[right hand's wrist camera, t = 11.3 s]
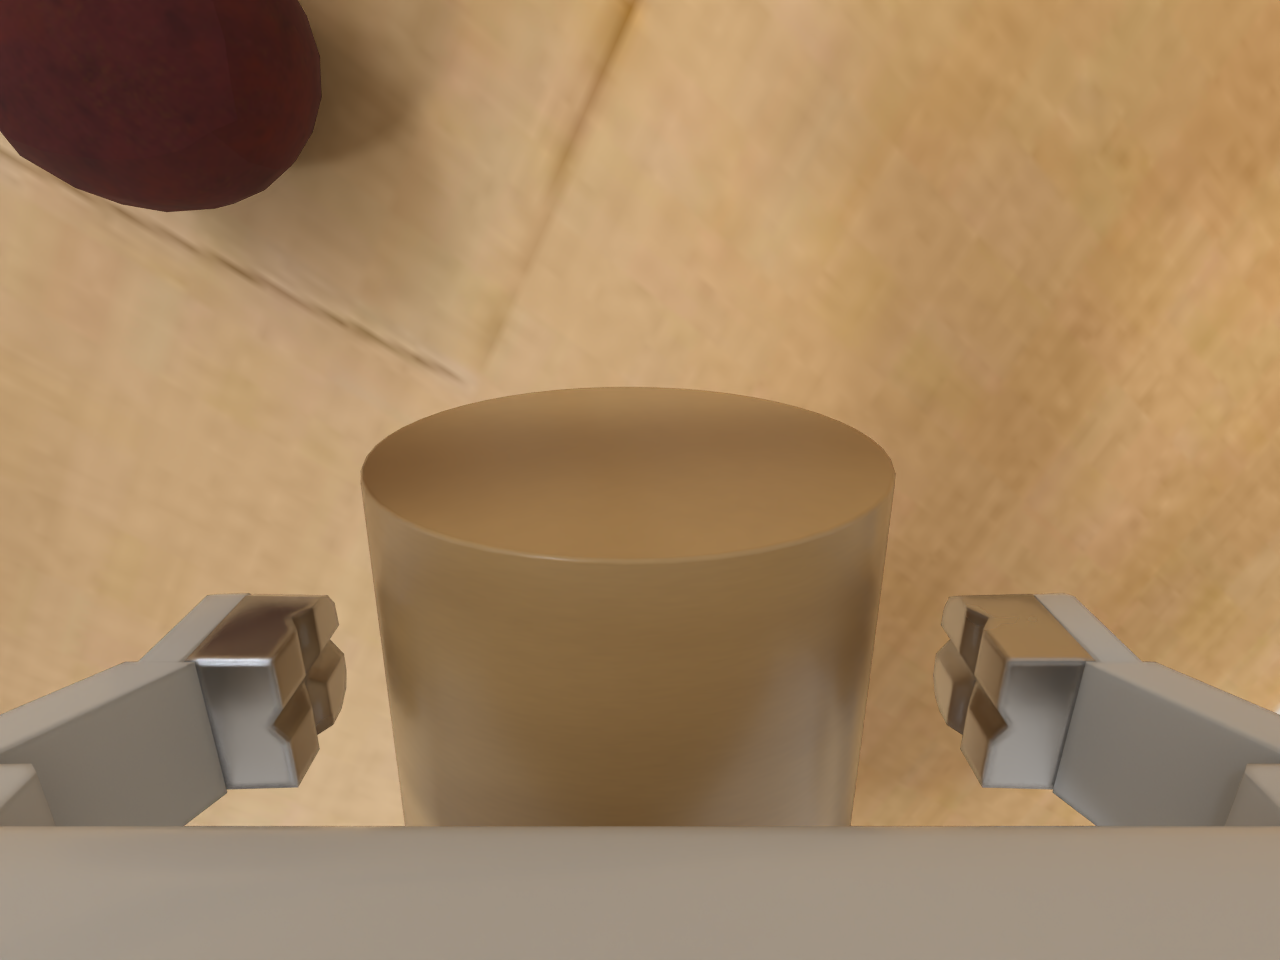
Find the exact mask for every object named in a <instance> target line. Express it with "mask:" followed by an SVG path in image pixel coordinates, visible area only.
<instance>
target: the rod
mask: <svg viewBox="0 0 1280 960" xmlns="http://www.w3.org/2000/svg"><path fill="white" fill-rule="evenodd" d="M894 486H895V471H894V468H893V465H892V462H891V459H890V458H889V456H888V455H887V454H886V452H885V451H884V450H883V448H881V447H880V446H879V445H878V444H877V443H876V442H874V441H873V440H872V439H871V438H869V437H868V436H866V435H864V434H863V433H861V432H860V431H858V430H856V429H854V428H852V427H850V426H848V425H846V424H844V423H842V422H840V421H837V420H834V419H832V418H829V417H827V416H824V415H821V414H819V413H815V412H812V411H809V410H806V409H802V408H799V407H795V406H791V405H787V404H783V403H779V402H774V401H769V400H764V399H759V398H754V397H748V396H742V395H735V394H728V393H720V392H712V391H702V390H690V389H676V388H657V387H600V388H578V389H565V390H553V391H544V392H534V393H527V394H520V395H513V396H507V397H501V398H496V399H490V400H485V401H481V402H476V403H472V404H468V405H464V406H460V407H457V408H453V409H450V410H446V411H443V412H440V413H437V414H434V415H431V416H429V417H426V418H423V419H420V420H418V421H416V422H414V423H412V424H409V425H407V426H405V427H403V428H401V429H399V430H398V431H396V432H394V433H392V434H391V435H389V436H387V437H386V438H385V439H384V440H382V441H381V442H380V443H379V444H377V445H376V446H375V447H374V448H373V450H372V451H371V452H370V453H369V454H368V456H367V457H366V459H365V462H364V464H363V466H362V469H361V489H362V497H363V504H364V512H365V520H366V527H367V535H368V543H369V551H370V558H371V566H372V574H373V582H374V589H375V597H376V605H377V612H378V620H379V628H380V636H381V643H382V651H383V659H384V666H385V674H386V682H387V690H388V697H389V705H390V713H391V720H392V728H393V736H394V744H395V751H396V759H397V767H398V774H399V782H400V790H401V798H402V805H403V813H404V821H405V826H851V818H852V810H853V803H854V795H855V787H856V779H857V772H858V764H859V756H860V749H861V741H862V733H863V725H864V718H865V710H866V702H867V695H868V687H869V679H870V671H871V664H872V656H873V648H874V640H875V633H876V625H877V617H878V610H879V602H880V594H881V586H882V579H883V571H884V563H885V556H886V548H887V540H888V532H889V525H890V517H891V509H892V501H893V494H894Z"/></svg>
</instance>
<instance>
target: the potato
mask: <svg viewBox="0 0 1280 960" xmlns="http://www.w3.org/2000/svg"><path fill="white" fill-rule="evenodd" d="M320 101H321V75H320V56H319V53H318V50H317V47H316V43H315V40H314V37H313V34H312V31H311V28H310V25H309V22H308V18H307V16H306V14H305V12H304V11H303V9H302V7H301V5H300V4H299V2H298V0H0V131H1V133H2V134H3V135H4V136H5V138H6V139H7V140H8V141H9V142H10V144H11V145H12V146H13V147H14V149H15V150H16V151H17V152H18V154H19V155H20V156H22V157H24V158H25V159H27V160H29V161H30V162H32V163H34V164H36V165H37V166H39V167H41V168H42V169H44V170H46V171H48V172H49V173H51V174H53V175H54V176H56V177H58V178H59V179H61V180H63V181H65V182H66V183H68V184H70V185H71V186H73V187H75V188H77V189H80V190H83V191H86V192H89V193H92V194H94V195H97V196H100V197H103V198H106V199H109V200H111V201H114V202H117V203H120V204H123V205H129V206H135V207H141V208H146V209H152V210H158V211H164V212H174V211H188V210H201V209H215V208H219V207H223V206H226V205H230V204H234V203H236V202H238V201H241V200H243V199H245V198H248V197H250V196H252V195H254V194H257V193H259V192H261V191H263V190H265V189H266V188H267V187H268V186H270V185H271V184H272V183H273V182H274V181H275V180H276V179H277V178H278V177H279V176H281V175H282V174H283V173H284V172H285V171H286V170H287V169H288V168H289V167H290V166H291V165H292V164H293V163H294V162H295V161H296V159H297V158H298V156H299V154H300V153H301V151H302V149H303V147H304V146H305V144H306V142H307V141H308V139H309V137H310V136H311V134H312V132H313V128H314V124H315V121H316V117H317V113H318V109H319V105H320Z"/></svg>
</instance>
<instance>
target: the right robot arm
mask: <svg viewBox="0 0 1280 960" xmlns="http://www.w3.org/2000/svg"><path fill="white" fill-rule="evenodd" d="M338 626H339V622H338V618H337V613H336V608H335V603H334V602H333V601H332V600H331V599H330V597H329V596H328V595H283V594H249V593H237V594H214V595H207V596H206V597H205V598H204V599H203V600H202V601H201V602H200V603H199V604H198V605H197V606H196V607H194V608H193V609H192V610H191V611H190V612H189V613H188V614H187V615H186V616H185V617H184V618H183V619H182V620H181V621H180V622H179V623H178V624H177V625H176V626H175V627H174V628H173V629H172V630H171V631H169V632H168V633H167V634H166V635H165V636H164V637H163V638H162V639H161V640H160V641H159V642H158V643H157V644H156V645H155V646H154V647H153V648H152V649H151V650H150V651H149V652H148V653H147V654H145V655H144V656H143V657H142V658H141V659H140V660H139V661H138V662H124V663H121V664H119V665H117V666H114V667H112V668H109V669H107V670H105V671H102V672H100V673H98V674H95V675H93V676H91V677H88V678H86V679H83V680H81V681H79V682H76V683H74V684H72V685H69V686H67V687H65V688H62V689H60V690H57V691H55V692H53V693H50V694H48V695H46V696H43V697H41V698H39V699H36V700H34V701H31V702H29V703H27V704H24V705H22V706H20V707H17V708H15V709H13V710H10V711H8V712H5V713H3V714H1V715H0V960H1280V715H1279V714H1277V713H1274V712H1272V711H1270V710H1267V709H1265V708H1262V707H1260V706H1258V705H1255V704H1253V703H1251V702H1248V701H1246V700H1244V699H1241V698H1239V697H1237V696H1234V695H1232V694H1229V693H1227V692H1225V691H1222V690H1220V689H1218V688H1215V687H1213V686H1211V685H1208V684H1206V683H1204V682H1201V681H1199V680H1196V679H1194V678H1192V677H1189V676H1187V675H1185V674H1182V673H1180V672H1178V671H1175V670H1173V669H1171V668H1168V667H1166V666H1163V665H1161V664H1159V663H1156V662H1142V661H1141V660H1140V659H1139V658H1138V657H1137V656H1136V655H1135V654H1134V653H1133V652H1131V651H1130V650H1129V649H1128V648H1127V647H1126V646H1125V645H1124V644H1123V643H1122V642H1121V641H1120V640H1119V639H1118V638H1117V637H1116V636H1115V635H1114V634H1113V633H1112V632H1111V631H1110V630H1109V629H1108V628H1107V627H1105V626H1104V625H1103V624H1102V623H1101V622H1100V621H1099V620H1098V619H1097V618H1096V617H1095V616H1094V615H1093V614H1092V613H1091V612H1090V611H1089V610H1088V609H1087V608H1086V607H1085V606H1084V605H1083V604H1082V603H1081V602H1079V601H1078V600H1077V599H1076V598H1075V597H1074V596H1071V595H1068V594H1065V593H1052V594H1014V595H973V596H953V597H949V599H948V601H947V603H946V605H945V607H944V611H943V617H942V622H941V626H942V627H943V629H944V630H945V632H946V633H947V635H948V636H949V638H950V640H949V641H948V642H947V643H946V644H945V645H944V646H943V647H942V648H941V649H940V650H939V651H938V652H937V653H936V659H935V666H934V674H933V678H934V689H935V698H936V701H937V704H938V707H939V711H940V713H941V715H942V716H943V718H944V720H945V722H946V724H947V725H948V726H950V727H951V728H953V729H954V730H956V731H958V732H959V733H961V734H962V735H963V737H962V743H961V748H960V749H961V751H962V753H963V754H964V756H965V758H966V760H967V761H968V763H969V765H970V767H971V769H972V770H973V772H974V774H975V776H976V777H977V779H978V781H979V783H980V784H981V786H982V787H987V788H1023V789H1053V793H1054V794H1055V795H1057V796H1058V797H1059V798H1061V799H1062V800H1063V801H1065V802H1066V803H1067V804H1068V805H1070V806H1071V807H1072V808H1074V809H1075V810H1076V811H1078V812H1079V813H1080V814H1082V815H1083V816H1084V817H1085V818H1087V819H1088V820H1089V821H1091V822H1092V823H1093V824H1095V825H1096V826H184V825H186V824H187V823H188V822H190V821H191V820H192V819H193V818H195V817H196V816H197V815H199V814H200V813H201V812H203V811H204V810H205V809H207V808H208V807H209V806H210V805H212V804H213V803H214V802H216V801H217V800H218V799H220V798H221V797H222V796H224V795H225V794H226V793H227V789H255V788H291V787H298V786H299V784H300V783H301V781H302V779H303V777H304V776H305V774H306V772H307V770H308V769H309V767H310V765H311V763H312V762H313V760H314V758H315V756H316V754H317V753H318V751H319V749H320V748H319V743H318V737H317V735H318V734H319V733H321V732H322V731H324V730H326V729H327V728H329V727H330V726H332V725H333V724H334V722H335V720H336V718H337V716H338V714H339V712H340V711H341V708H342V704H343V699H344V695H345V691H346V664H345V658H344V653H343V652H342V651H341V650H340V649H339V648H338V647H337V646H336V645H335V644H334V643H333V642H332V641H331V640H330V638H331V636H332V635H333V633H334V632H335V630H336V629H337V627H338Z"/></svg>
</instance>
